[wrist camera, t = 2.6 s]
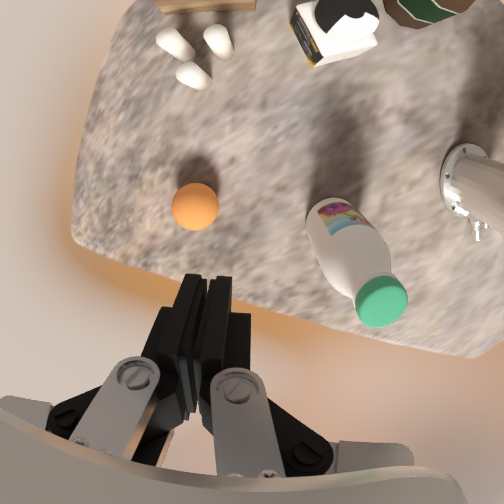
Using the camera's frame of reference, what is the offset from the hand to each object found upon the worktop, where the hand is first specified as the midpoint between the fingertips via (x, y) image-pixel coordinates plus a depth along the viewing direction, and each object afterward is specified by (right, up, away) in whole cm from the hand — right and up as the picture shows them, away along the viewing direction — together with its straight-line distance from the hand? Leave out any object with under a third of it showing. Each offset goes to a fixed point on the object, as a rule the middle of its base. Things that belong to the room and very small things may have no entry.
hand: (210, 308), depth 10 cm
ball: (-6, +8, +25) cm, 27 cm away
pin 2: (-2, +27, +19) cm, 33 cm away
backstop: (-4, +34, +15) cm, 38 cm away
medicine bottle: (+11, +30, +17) cm, 36 cm away
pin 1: (-7, +28, +18) cm, 34 cm away
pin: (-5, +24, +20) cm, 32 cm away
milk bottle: (+13, +6, +29) cm, 32 cm away
